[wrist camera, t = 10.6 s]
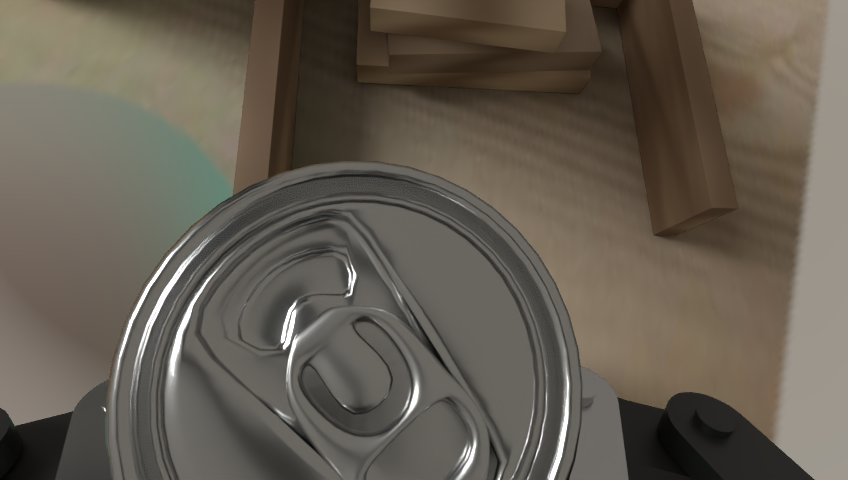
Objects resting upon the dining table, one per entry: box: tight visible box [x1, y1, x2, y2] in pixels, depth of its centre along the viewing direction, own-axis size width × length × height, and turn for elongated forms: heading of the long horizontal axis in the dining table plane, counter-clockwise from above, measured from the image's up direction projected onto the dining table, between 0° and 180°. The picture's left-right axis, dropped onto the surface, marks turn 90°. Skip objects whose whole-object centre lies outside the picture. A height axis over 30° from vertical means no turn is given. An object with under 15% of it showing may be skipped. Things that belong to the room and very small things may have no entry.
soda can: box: [105, 161, 583, 480], centre depth 10 cm, size 5×5×12 cm
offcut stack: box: [356, 0, 602, 94], centre depth 22 cm, size 12×5×4 cm, turn 90°
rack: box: [233, 0, 738, 235], centre depth 21 cm, size 20×15×4 cm
